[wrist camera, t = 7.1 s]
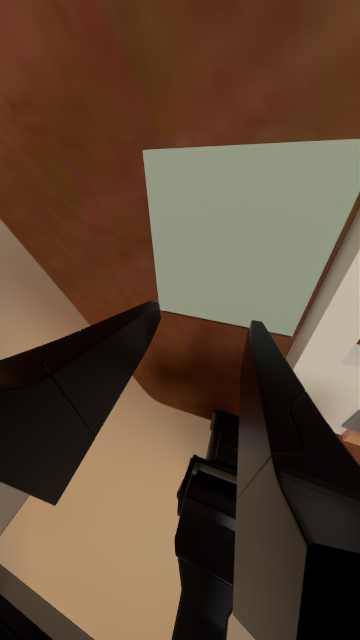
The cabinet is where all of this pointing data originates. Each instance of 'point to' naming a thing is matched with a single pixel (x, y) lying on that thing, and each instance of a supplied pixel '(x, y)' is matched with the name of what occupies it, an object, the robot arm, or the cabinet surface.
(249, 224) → the mat
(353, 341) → the cream rectangular frame
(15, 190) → the cabinet surface
